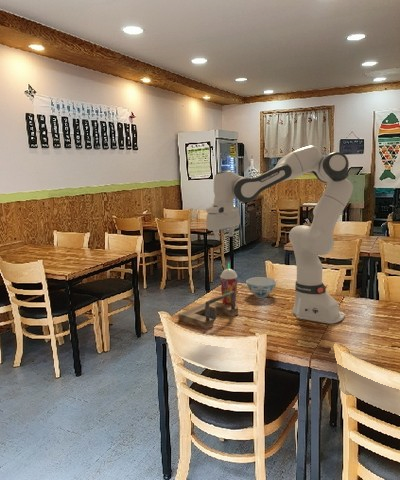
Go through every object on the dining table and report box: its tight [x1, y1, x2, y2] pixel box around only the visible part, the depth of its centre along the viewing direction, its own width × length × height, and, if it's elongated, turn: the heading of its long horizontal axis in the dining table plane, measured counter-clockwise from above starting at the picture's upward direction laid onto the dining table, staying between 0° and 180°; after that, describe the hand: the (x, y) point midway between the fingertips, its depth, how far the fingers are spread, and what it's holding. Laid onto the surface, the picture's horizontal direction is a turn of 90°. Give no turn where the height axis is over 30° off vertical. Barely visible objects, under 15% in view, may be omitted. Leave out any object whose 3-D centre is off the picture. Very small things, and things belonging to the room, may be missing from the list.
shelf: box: [178, 291, 239, 330], centre depth 180 cm, size 16×22×11 cm
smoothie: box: [219, 263, 238, 306], centre depth 197 cm, size 8×8×20 cm
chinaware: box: [245, 276, 277, 299], centre depth 208 cm, size 15×15×8 cm
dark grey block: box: [204, 305, 217, 320], centre depth 180 cm, size 5×5×6 cm
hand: (224, 237), depth 184 cm, fingers open, 8 cm apart
